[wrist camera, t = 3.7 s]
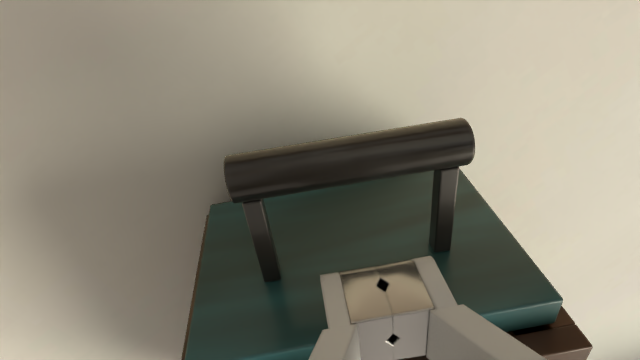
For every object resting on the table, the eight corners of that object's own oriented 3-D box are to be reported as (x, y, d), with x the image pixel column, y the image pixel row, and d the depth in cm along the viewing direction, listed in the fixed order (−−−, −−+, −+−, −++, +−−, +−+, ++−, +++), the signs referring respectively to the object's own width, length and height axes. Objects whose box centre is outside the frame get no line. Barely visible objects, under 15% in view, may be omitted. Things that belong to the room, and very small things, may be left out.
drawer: (175, 102, 15) (110, 245, 8) (467, 57, 15) (618, 160, 9) (266, 367, 25) (268, 521, 19) (438, 335, 26) (497, 475, 19)
